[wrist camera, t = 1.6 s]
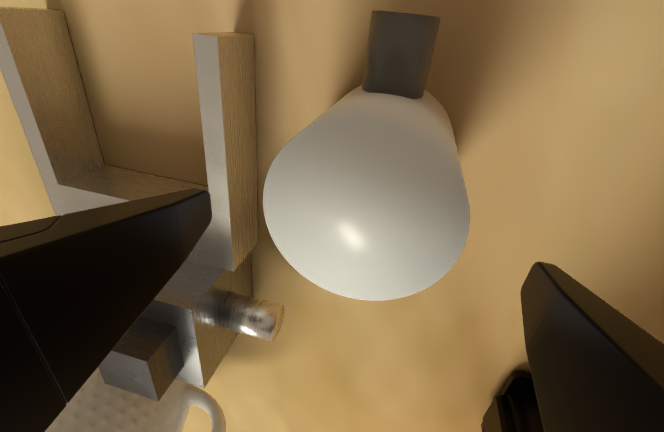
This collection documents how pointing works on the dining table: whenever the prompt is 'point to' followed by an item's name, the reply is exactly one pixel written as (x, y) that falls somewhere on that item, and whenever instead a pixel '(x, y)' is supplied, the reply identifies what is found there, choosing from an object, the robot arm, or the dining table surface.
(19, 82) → the u-shaped channel
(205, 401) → the mug
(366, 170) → the light bulb
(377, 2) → the dining table surface
